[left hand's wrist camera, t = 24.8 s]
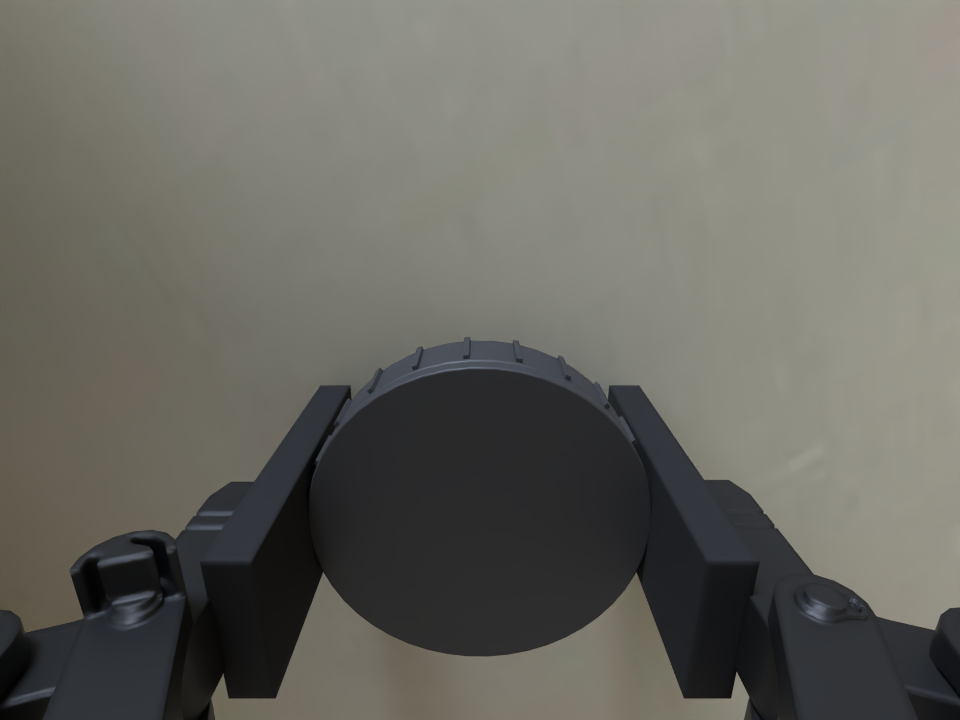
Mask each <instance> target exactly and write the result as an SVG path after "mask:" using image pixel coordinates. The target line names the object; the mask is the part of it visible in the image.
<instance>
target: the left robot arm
mask: <svg viewBox="0 0 960 720" xmlns="http://www.w3.org/2000/svg"><path fill="white" fill-rule="evenodd" d="M348 399H350V400H351V388H350V386H320V387H319V389H318V390H317V392H316V393H315V394H314V396H313V397H312V399H311V400H310V402H309V403H308V405H307V406H306V408H305V409H304V410H303V412H302V413H301V415H300V416H299V418H298V419H297V421H296V422H295V424H294V425H293V426H292V428H291V429H290V431H289V432H288V434H287V435H286V437H285V438H284V440H283V441H282V442H281V444H280V445H279V447H278V448H277V450H276V451H275V453H274V454H273V455H272V457H271V458H270V460H269V461H268V463H267V464H266V466H265V467H264V469H263V470H262V471H261V473H260V474H259V476H258V477H257V479H256V480H255V482H230V483H229V484H227V485H226V486H224V487H223V488H221V489H220V490H218V491H217V492H215V493H214V494H212V495H211V496H210V497H209V498H208V499H207V500H206V502H205V503H204V504H203V505H202V507H201V508H200V509H199V511H198V512H197V515H196V516H194V517H193V518H192V519H191V521H190V522H189V523H188V524H187V526H186V529H185V530H183V531H182V532H181V533H180V535H179V536H178V537H177V538H176V540H175V539H174V538H172V537H171V536H170V535H169V534H167V533H165V532H160V531H154V530H147V531H135V532H131V533H127V534H124V535H120V536H117V537H114V538H111V539H109V540H107V541H105V542H103V543H101V544H99V545H97V546H95V547H93V548H92V549H91V550H89V551H88V552H86V553H85V554H84V555H82V556H81V557H80V558H79V559H78V560H77V561H76V562H75V564H74V565H73V566H72V568H71V569H70V570H69V571H70V574H71V577H72V580H73V584H74V587H75V590H76V593H77V596H78V599H79V603H80V606H81V609H82V612H83V615H84V618H83V619H81V620H78V621H75V622H71V623H66V624H62V625H58V626H53V627H49V628H44V629H40V630H36V631H31V632H27V633H25V631H24V628H23V625H22V623H21V620H20V617H18V616H17V615H16V614H14V613H13V612H11V611H7V610H0V720H215V716H214V710H213V705H212V700H211V697H212V695H213V693H214V691H215V689H216V687H217V685H218V683H219V681H220V679H221V677H222V675H223V673H224V678H225V683H226V687H227V692H228V697H229V698H276V696H277V693H278V691H279V688H280V685H281V683H282V680H283V677H284V675H285V672H286V669H287V667H288V664H289V661H290V659H291V656H292V653H293V651H294V648H295V645H296V643H297V640H298V637H299V635H300V632H301V629H302V627H303V624H304V621H305V619H306V616H307V613H308V611H309V608H310V605H311V603H312V600H313V597H314V595H315V592H316V589H317V587H318V584H319V581H320V579H321V576H322V573H323V570H322V568H321V566H320V563H319V561H318V559H317V556H316V554H315V551H314V548H313V544H312V539H311V532H310V524H309V516H308V500H309V492H310V487H311V482H312V477H313V474H314V472H315V469H316V466H317V465H315V461H316V459H317V457H318V455H319V453H320V451H321V449H322V448H323V446H324V444H325V442H326V440H327V438H328V436H329V435H330V436H332V434H333V432H334V430H335V428H336V426H335V425H334V423H335V421H336V419H337V417H338V416H339V414H340V412H341V410H342V408H343V406H344V405H345V403H346V401H347V400H348ZM608 402H609V403H610V405H611V406H612V407H613V409H614V410H615V412H616V414H617V416H618V418H619V417H621V416H623V418H624V420H625V422H626V423H627V425H628V427H629V429H630V431H631V433H632V434H633V436H634V438H635V440H636V442H637V444H635V445H633V446H634V448H635V450H636V452H637V454H638V456H639V458H640V459H641V461H642V464H643V467H644V470H645V473H646V476H647V479H648V482H649V488H650V494H651V500H652V512H651V522H650V530H649V537H648V543H647V547H646V550H645V553H644V556H643V559H642V561H641V563H640V565H639V567H638V569H637V571H636V572H637V574H638V577H639V580H640V582H641V585H642V588H643V590H644V593H645V596H646V598H647V601H648V604H649V606H650V609H651V612H652V614H653V617H654V620H655V622H656V625H657V628H658V630H659V633H660V636H661V638H662V641H663V644H664V646H665V649H666V652H667V654H668V657H669V660H670V662H671V665H672V668H673V670H674V673H675V676H676V678H677V681H678V684H679V686H680V689H681V692H682V694H683V697H684V698H731V695H732V690H733V686H734V681H735V676H736V672H737V673H738V675H739V677H740V679H741V681H742V683H743V685H744V687H745V689H746V691H747V693H748V695H749V700H748V705H747V709H746V714H745V718H744V720H960V608H950V609H948V610H947V611H946V612H944V613H943V614H941V616H940V618H939V621H938V624H937V627H936V629H935V630H930V629H926V628H922V627H917V626H913V625H909V624H904V623H900V622H895V621H891V620H887V619H883V618H880V617H877V616H876V615H875V614H874V612H873V611H872V609H871V608H870V606H869V605H868V604H867V602H865V601H864V600H863V599H862V598H861V597H859V596H858V595H857V594H856V593H855V592H853V591H852V590H850V589H848V588H847V587H845V586H843V585H841V584H839V583H837V582H835V581H833V580H830V579H827V578H823V577H820V576H817V575H814V574H813V573H812V572H811V570H810V569H809V568H808V566H807V565H806V564H805V563H804V561H803V560H802V559H801V558H800V556H799V555H798V554H797V553H796V551H795V550H794V549H793V548H792V546H791V545H790V544H789V543H788V541H787V540H786V539H785V538H784V536H783V535H782V534H781V533H780V531H779V530H778V529H777V528H775V527H774V524H773V522H772V521H771V520H770V519H769V517H768V516H767V515H766V514H764V513H763V510H762V509H761V507H760V506H759V505H758V504H757V502H756V501H755V500H754V499H753V497H752V496H751V495H750V494H749V493H747V492H746V491H744V490H743V489H741V488H740V487H738V486H737V485H735V484H734V483H732V482H731V481H729V480H704V479H703V478H702V476H701V475H700V473H699V472H698V471H697V469H696V468H695V466H694V465H693V463H692V462H691V460H690V459H689V457H688V456H687V455H686V453H685V452H684V450H683V449H682V447H681V446H680V444H679V443H678V441H677V440H676V439H675V437H674V436H673V434H672V433H671V431H670V430H669V428H668V427H667V426H666V424H665V423H664V421H663V420H662V418H661V417H660V415H659V414H658V412H657V411H656V410H655V408H654V407H653V405H652V404H651V402H650V401H649V399H648V398H647V396H646V395H645V394H644V392H643V391H642V389H641V388H640V386H609V396H608Z"/></svg>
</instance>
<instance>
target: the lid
mask: <svg viewBox="0 0 960 720" xmlns="http://www.w3.org/2000/svg"><path fill="white" fill-rule="evenodd" d="M334 425H335V426H336V428H335V430H334V432H333V434H332V436H330V435H329V436H328V438H327V440H326V442H325V444H324V446H323V448H322V449H321V451H320V453H319V455H318V457H317V459H316V461H315V465H317V466H316V469H315V472H314V474H313V477H312V482H311V487H310V492H309V500H308V516H309V524H310V532H311V539H312V544H313V548H314V551H315V554H316V556H317V559H318V561H319V563H320V566H321V568H322V570H323V572H324V573H325V575H326V577H327V578H328V580H329V582H330V583H331V585H332V586H333V588H334V589H335V590H336V591H337V593H338V594H339V595H340V596H341V597H342V599H343V600H344V601H345V602H346V603H347V604H348V605H349V606H350V607H351V608H352V609H353V610H354V611H355V612H357V613H358V614H359V615H360V616H361V617H363V618H364V619H365V620H367V621H368V622H370V623H371V624H372V625H374V626H375V627H377V628H379V629H380V630H382V631H384V632H386V633H387V634H389V635H391V636H393V637H395V638H397V639H400V640H402V641H404V642H406V643H409V644H412V645H415V646H418V647H421V648H424V649H427V650H432V651H436V652H441V653H446V654H453V655H462V656H497V655H508V654H513V653H519V652H524V651H529V650H532V649H535V648H539V647H542V646H545V645H548V644H551V643H553V642H555V641H558V640H560V639H563V638H565V637H567V636H569V635H571V634H572V633H574V632H576V631H578V630H580V629H582V628H583V627H585V626H586V625H587V624H589V623H590V622H592V621H593V620H594V619H596V618H597V617H599V616H600V615H601V614H602V613H603V612H604V611H605V610H606V609H608V608H609V607H610V606H611V605H612V604H613V603H614V602H615V601H616V599H617V598H618V597H619V596H620V595H621V594H622V592H623V591H624V590H625V589H626V587H627V586H628V584H629V583H630V581H631V580H632V578H633V577H634V575H635V574H636V571H637V569H638V567H639V565H640V563H641V561H642V559H643V556H644V553H645V550H646V547H647V543H648V537H649V530H650V522H651V512H652V500H651V494H650V488H649V482H648V479H647V476H646V473H645V470H644V467H643V464H642V461H641V459H640V458H639V456H638V454H637V452H636V450H635V448H634V446H633V445H635V444H637V442H636V440H635V438H634V436H633V434H632V433H631V431H630V429H629V427H628V425H627V423H626V422H625V420H624V418H623V416H621V417H619V418H618V416H617V414H616V412H615V410H614V409H613V407H612V406H611V405H610V403H609V402H608V400H607V398H606V396H605V394H604V392H603V390H602V389H601V387H600V385H599V384H598V383H597V382H596V383H594V384H592V383H591V382H590V381H589V380H588V379H587V378H585V377H584V376H583V375H582V374H580V373H579V372H578V371H576V370H575V369H574V368H572V367H570V366H569V365H567V364H566V363H565V360H564V358H563V357H561V356H558V358H555V357H552V356H550V355H547V354H545V353H542V352H540V351H538V350H535V349H531V348H527V347H524V346H520V345H519V341H516V340H513V344H510V343H503V342H496V341H470V337H465V338H464V342H456V343H448V344H444V345H440V346H436V347H432V348H428V349H425V350H423V347H419V348H417V351H416V353H415V354H412V355H409V356H407V357H406V358H404V359H402V360H400V361H398V362H396V363H394V364H392V365H391V366H389V367H388V368H386V369H385V370H384V371H383V370H382V369H381V368H379V369H378V370H377V371H376V373H375V375H374V377H373V379H372V380H371V381H370V382H369V383H368V384H367V385H366V386H364V387H363V388H362V389H361V390H360V391H359V393H358V394H357V395H356V396H355V398H354V399H353V400H350V399H348V400H347V401H346V403H345V405H344V406H343V408H342V410H341V412H340V414H339V416H338V417H337V419H336V421H335V423H334Z"/></svg>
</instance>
